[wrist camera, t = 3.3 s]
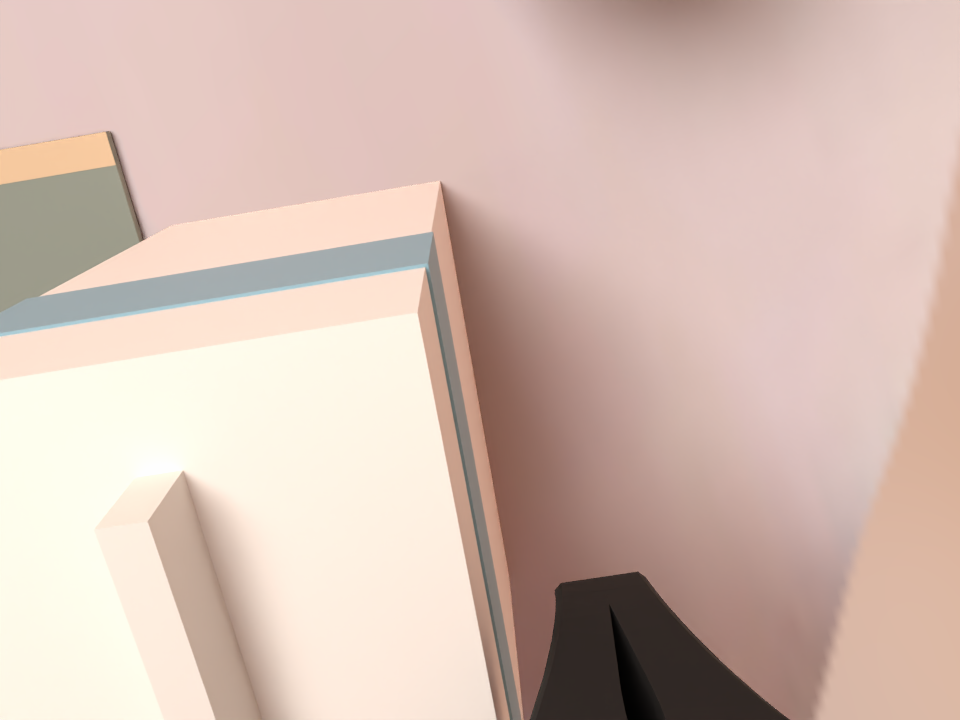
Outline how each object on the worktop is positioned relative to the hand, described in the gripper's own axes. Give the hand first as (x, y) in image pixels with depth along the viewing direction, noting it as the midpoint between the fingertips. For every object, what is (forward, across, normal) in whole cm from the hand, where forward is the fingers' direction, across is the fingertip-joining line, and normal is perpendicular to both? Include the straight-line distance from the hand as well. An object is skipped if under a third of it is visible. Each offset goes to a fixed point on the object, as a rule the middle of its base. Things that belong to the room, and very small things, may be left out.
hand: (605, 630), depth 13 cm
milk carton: (+10, +5, 0) cm, 12 cm away
